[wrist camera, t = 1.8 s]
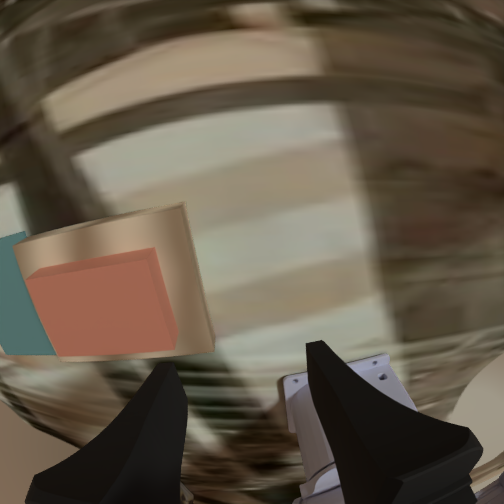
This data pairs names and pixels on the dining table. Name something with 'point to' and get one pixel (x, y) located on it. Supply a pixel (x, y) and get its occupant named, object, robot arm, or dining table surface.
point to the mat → (18, 307)
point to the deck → (130, 239)
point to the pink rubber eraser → (105, 305)
